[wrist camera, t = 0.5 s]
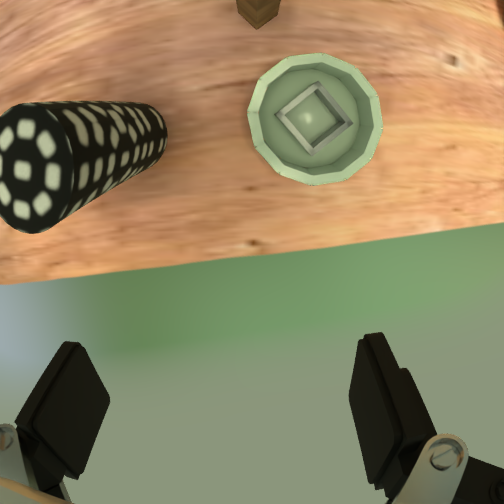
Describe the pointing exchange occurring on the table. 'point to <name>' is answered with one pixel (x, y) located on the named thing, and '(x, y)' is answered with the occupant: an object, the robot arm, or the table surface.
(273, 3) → the wooden rectangular post
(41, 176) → the white-spotted black cylinder
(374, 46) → the table surface
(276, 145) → the green faceted socket ring
